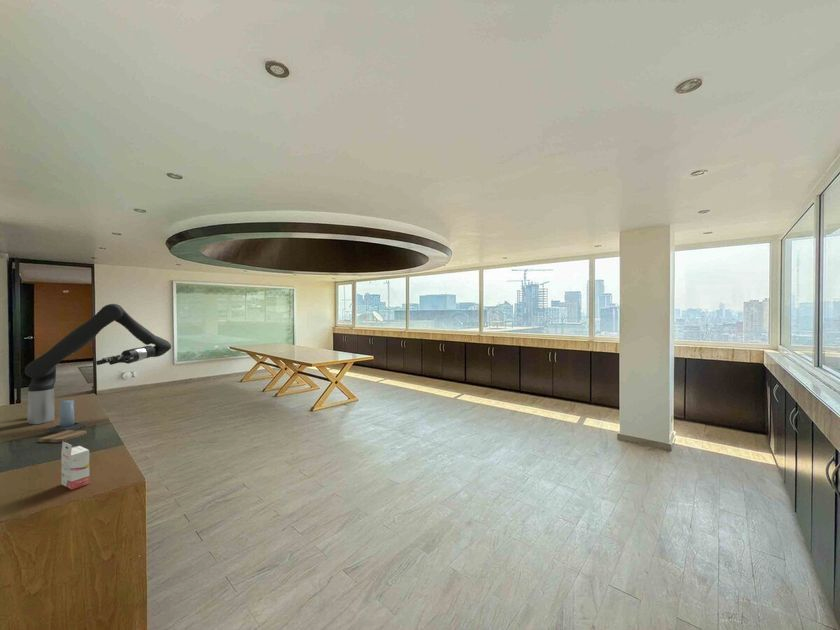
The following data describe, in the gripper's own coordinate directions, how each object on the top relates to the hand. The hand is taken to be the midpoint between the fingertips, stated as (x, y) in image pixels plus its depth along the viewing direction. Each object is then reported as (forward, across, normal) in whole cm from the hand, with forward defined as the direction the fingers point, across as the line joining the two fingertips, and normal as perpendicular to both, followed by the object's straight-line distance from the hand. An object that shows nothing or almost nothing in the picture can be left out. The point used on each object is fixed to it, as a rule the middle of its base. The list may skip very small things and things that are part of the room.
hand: (103, 363), depth 178 cm
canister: (+13, -12, +30) cm, 35 cm away
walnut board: (+22, +1, +30) cm, 37 cm away
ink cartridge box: (+55, +57, +28) cm, 84 cm away
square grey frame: (+13, -12, +30) cm, 35 cm away
